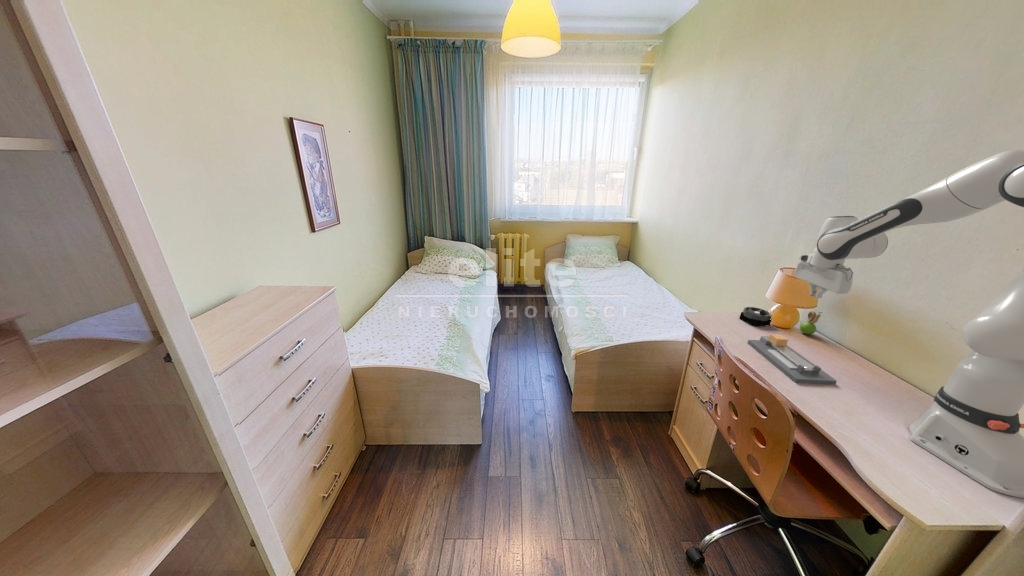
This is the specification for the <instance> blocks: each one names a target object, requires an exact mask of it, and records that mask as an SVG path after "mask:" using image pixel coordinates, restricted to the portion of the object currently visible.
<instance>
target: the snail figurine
mask: <svg viewBox="0 0 1024 576" xmlns="http://www.w3.org/2000/svg"><path fill="white" fill-rule="evenodd" d="M821 314H823V312H822V311H818V313H816V312H815V311H809V312H808V314H807V317H806V321H804V322H801V324H800V325H799V330H800V332H801V333H803V334H804V335H812V334H815V332H816V331H817V325H815V324H816V323H817V322H818V321H819V319H820V318H821Z"/></svg>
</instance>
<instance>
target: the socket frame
mask: <svg viewBox="0 0 1024 576" xmlns="http://www.w3.org/2000/svg"><path fill="white" fill-rule="evenodd" d="M769 336H770V335H769ZM769 336H765V335H763V336H762V335H761V336H760V338H759V339H747V344H748V345H749V346H751V347H752V348H753V349H754V350H755V351H756V352H757V353H758V354H760V355H761V356H762V357H764V358H765V359H766V360H767V361H768V362H770V363H771V364H772V365H773V366H774V367H775V368H777V369H778V370H779V371H780V372H781V373H783V374H784V375H785V376H786V377H788V379H790V380H791V381H792V382H794V383H796V384H813V385H814V384H817V385H818V384H819V385H836V384H837V383H838V380H837V379H835V378H834V377H832V376H831V375H830V374H828V373H827V372H825V371H824V370H823V369H822V367H820V366H819V365H815V364H814V363H813V362H811V361H810V360H809V359H808V358H806V357H804V356H803V355H802V354H801V353H799V352H797V351H796V350H794V349H793V348H792V347H790V346H789V345H786V346H785V347H787V348H788V349H789V350H791V351H792V352H793V353H795V354H796V355H797V356H799V357H800V358H801V359H803V360H804V361H805V362H807V363H808V364H809V365H811V366H812V367H815V368H816V371H804V368H805V367H803V366H802V365H796V364H795V363H794V362H793V361H791V360H790V359H789V358H787V357H786V356H785V355H784V354H782V353H781V352H780V351H779V350H777V349H776V348H775V347H773V346H772V343H771V342H770V341H768V339H769Z"/></svg>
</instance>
